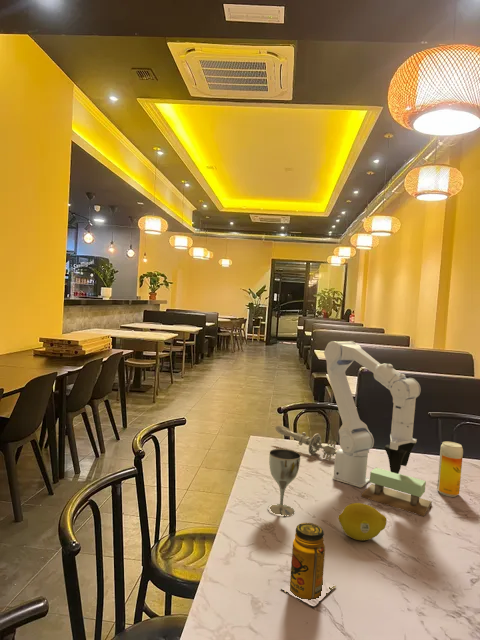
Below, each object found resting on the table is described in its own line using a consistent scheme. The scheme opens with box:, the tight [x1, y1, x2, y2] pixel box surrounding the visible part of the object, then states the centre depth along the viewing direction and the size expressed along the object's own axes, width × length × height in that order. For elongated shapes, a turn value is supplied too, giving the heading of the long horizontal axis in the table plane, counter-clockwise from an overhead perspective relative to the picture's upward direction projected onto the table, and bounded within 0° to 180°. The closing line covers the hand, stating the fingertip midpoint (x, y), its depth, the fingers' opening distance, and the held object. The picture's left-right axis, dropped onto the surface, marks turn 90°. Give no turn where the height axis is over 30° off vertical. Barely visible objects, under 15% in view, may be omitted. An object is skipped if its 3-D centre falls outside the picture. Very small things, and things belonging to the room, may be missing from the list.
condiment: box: [284, 522, 337, 600], centre depth 84 cm, size 7×8×12 cm
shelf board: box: [369, 467, 427, 498], centre depth 126 cm, size 14×5×3 cm, turn 55°
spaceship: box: [275, 425, 338, 462], centre depth 160 cm, size 8×35×8 cm
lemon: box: [337, 502, 387, 541], centre depth 104 cm, size 11×8×8 cm
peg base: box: [360, 483, 433, 517], centre depth 126 cm, size 17×9×4 cm, turn 55°
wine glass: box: [268, 448, 301, 517], centre depth 115 cm, size 8×8×15 cm
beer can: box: [436, 440, 464, 498], centre depth 133 cm, size 6×6×15 cm
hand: (398, 468), depth 126 cm, fingers open, 7 cm apart
